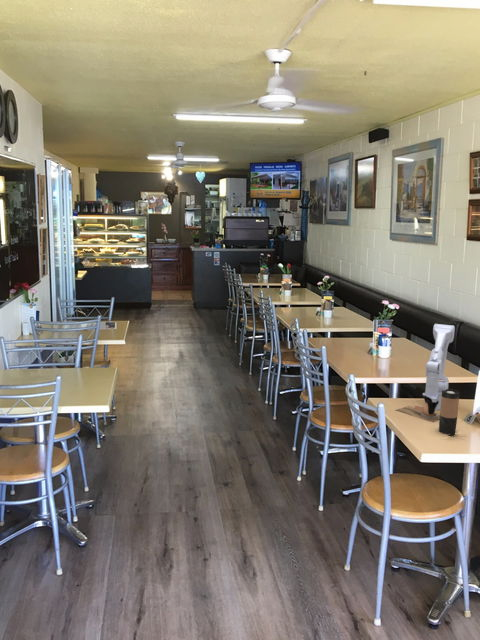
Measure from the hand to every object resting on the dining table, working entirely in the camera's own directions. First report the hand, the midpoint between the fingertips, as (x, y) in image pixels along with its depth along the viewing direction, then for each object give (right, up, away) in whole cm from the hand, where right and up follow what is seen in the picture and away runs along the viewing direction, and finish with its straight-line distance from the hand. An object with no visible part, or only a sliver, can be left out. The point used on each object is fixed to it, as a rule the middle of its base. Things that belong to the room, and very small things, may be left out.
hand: (429, 412), depth 300 cm
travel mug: (+2, -7, -20) cm, 21 cm away
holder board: (-3, -2, +4) cm, 6 cm away
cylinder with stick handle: (-2, -2, +2) cm, 3 cm away
